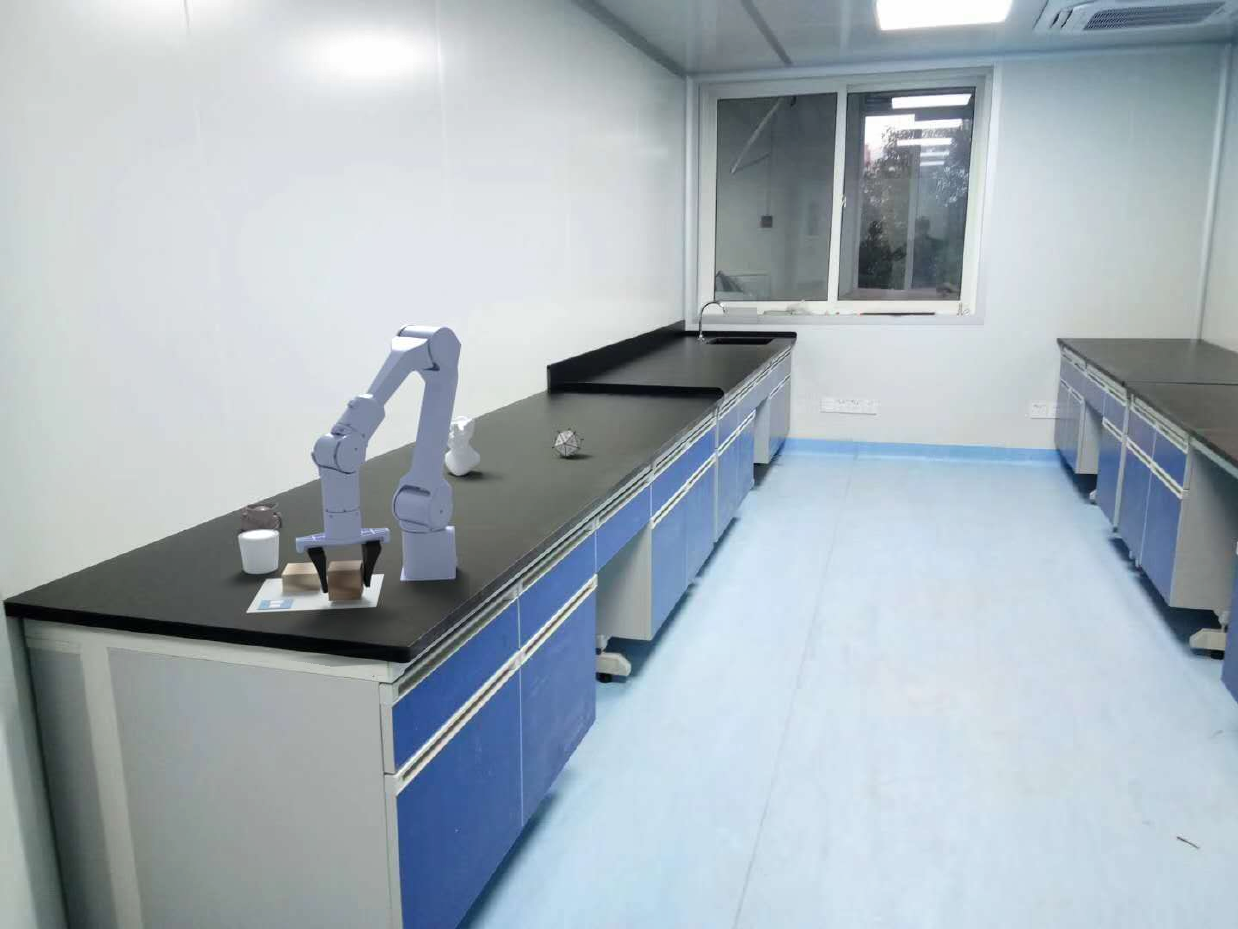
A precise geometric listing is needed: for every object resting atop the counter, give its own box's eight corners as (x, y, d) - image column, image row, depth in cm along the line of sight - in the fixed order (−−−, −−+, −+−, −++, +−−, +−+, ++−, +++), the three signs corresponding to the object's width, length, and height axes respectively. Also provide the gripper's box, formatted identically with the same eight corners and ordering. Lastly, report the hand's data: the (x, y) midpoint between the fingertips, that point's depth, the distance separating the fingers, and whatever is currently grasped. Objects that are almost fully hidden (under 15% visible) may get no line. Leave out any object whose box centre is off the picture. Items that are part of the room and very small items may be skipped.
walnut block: (363, 588, 159) (362, 560, 157) (360, 599, 154) (359, 570, 153) (332, 590, 158) (331, 561, 157) (328, 601, 153) (326, 571, 152)
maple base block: (324, 578, 166) (323, 562, 166) (319, 590, 160) (318, 573, 160) (289, 579, 165) (288, 563, 165) (282, 591, 159) (281, 574, 159)
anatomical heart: (483, 471, 251) (482, 414, 248) (472, 480, 240) (471, 422, 237) (447, 469, 252) (445, 413, 249) (435, 479, 241) (433, 421, 238)
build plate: (384, 576, 169) (384, 573, 169) (376, 609, 153) (376, 605, 153) (266, 581, 166) (266, 578, 166) (246, 615, 150) (245, 611, 150)
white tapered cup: (286, 565, 175) (284, 528, 173) (274, 577, 168) (271, 539, 166) (248, 565, 174) (245, 528, 173) (235, 577, 168) (232, 539, 166)
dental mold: (239, 535, 193) (237, 511, 191) (243, 526, 199) (241, 503, 198) (281, 533, 195) (279, 509, 194) (283, 524, 201) (282, 501, 200)
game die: (574, 470, 269) (590, 445, 264) (547, 462, 266) (563, 436, 260) (571, 449, 276) (587, 425, 271) (544, 441, 272) (560, 416, 267)
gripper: (382, 497, 159) (385, 574, 162) (291, 506, 153) (296, 586, 156) (391, 507, 153) (394, 588, 156) (296, 517, 147) (302, 601, 150)
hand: (346, 588), depth 155 cm, fingers closed on walnut block, 6 cm apart
